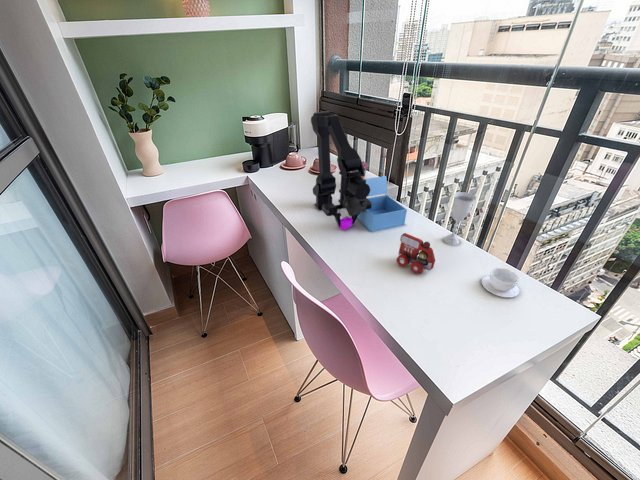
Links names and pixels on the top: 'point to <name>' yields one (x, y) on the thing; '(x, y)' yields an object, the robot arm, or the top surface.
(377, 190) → the flap
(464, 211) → the chalice
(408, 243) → the toy fire truck
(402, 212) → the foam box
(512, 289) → the teacup
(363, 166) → the cup
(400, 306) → the top surface
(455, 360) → the top surface
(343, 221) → the crystal
